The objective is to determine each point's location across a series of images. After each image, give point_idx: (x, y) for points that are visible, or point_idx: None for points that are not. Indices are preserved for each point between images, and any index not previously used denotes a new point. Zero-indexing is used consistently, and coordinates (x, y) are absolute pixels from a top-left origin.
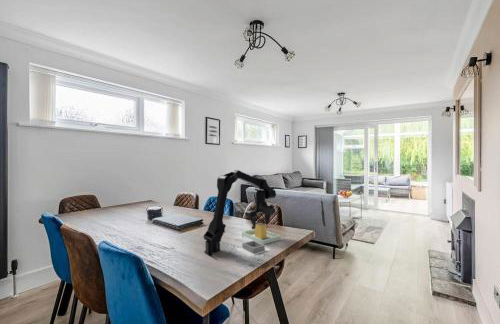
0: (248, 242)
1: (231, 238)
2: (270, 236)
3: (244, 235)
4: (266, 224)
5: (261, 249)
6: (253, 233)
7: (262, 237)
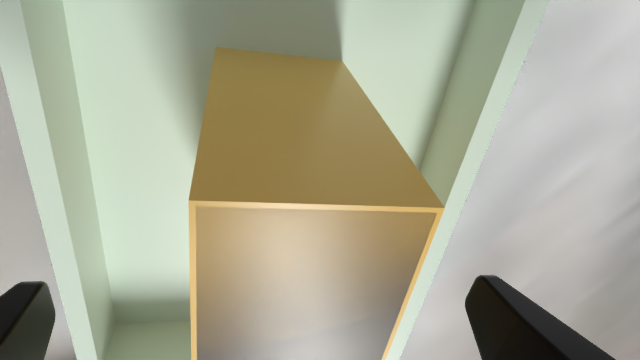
0: None
1: None
2: (72, 71)
3: None
4: (47, 306)
5: None
6: None
7: (318, 69)
